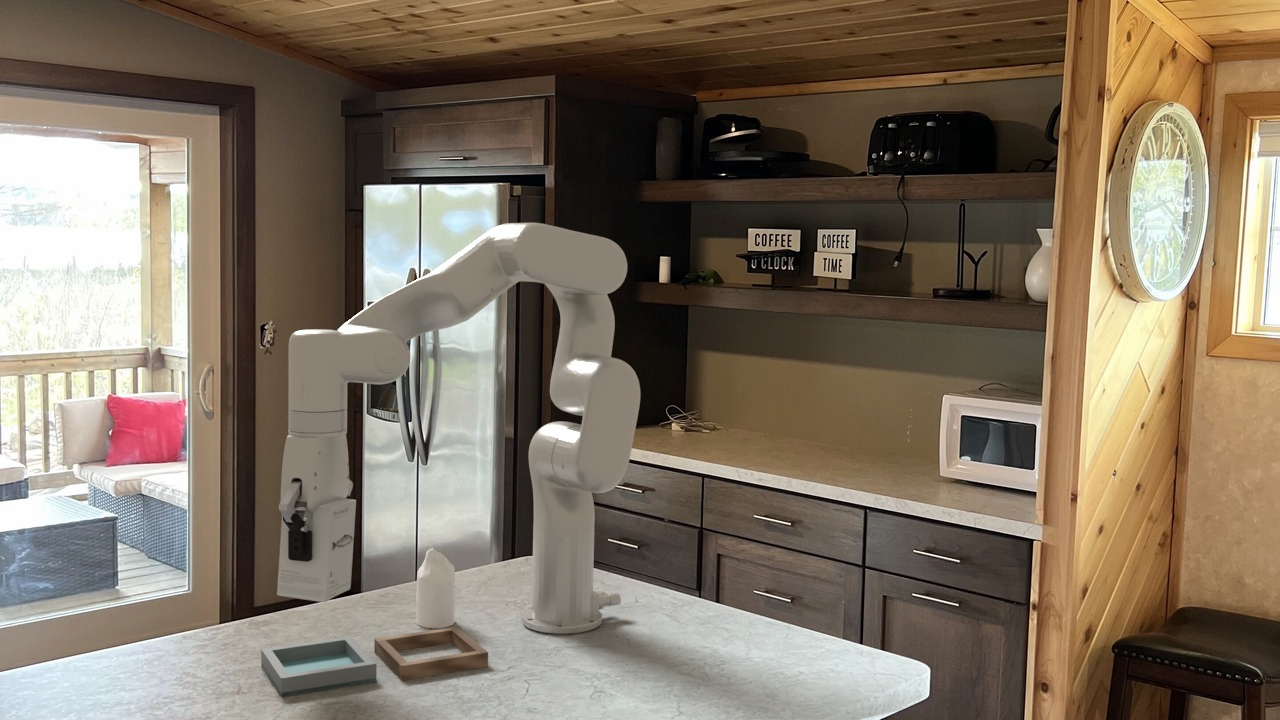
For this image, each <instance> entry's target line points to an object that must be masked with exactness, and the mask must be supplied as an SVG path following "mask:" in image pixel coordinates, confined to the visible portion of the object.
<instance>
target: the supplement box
mask: <svg viewBox="0 0 1280 720" xmlns="http://www.w3.org/2000/svg"><path fill="white" fill-rule="evenodd" d="M297 506H301V507H307V504H302V503H298V504H297ZM356 508H357V500H356V499H351V498H350V499H341V500H337V501H334V502H330V503H327V504H324V505H321V506H319V508H318V509H317V510H316V511H314V512H313V517H312V520H311V524H310V527H309V530H308V531H312V560H311V561H309V562H305V561H295V560H290V559H289V558H288V531H287V530H286V524H285V522H284V521H283V516H282V515H281V524H280V525H281V527H280V541H279V542H280V543H279V558H278V575H277V588H276V591H277V592H276V595H277V596H280V597H285V598H291V599H292V598H293V599H298V600H306V601H313V602H318V603H319V602H320V603H327V602H328V601H330V600H331V599H333V598H335V597H337V596H339V595H340V594H343V593H345V592H347V591H349V590H351V585H352V569H353V558H354V556H353V555H354V538H355V525H356V524H355V523H356ZM297 514H298V515H299V516H300V517H301V519H302V520H303V518H304V515H305V513H297Z"/></svg>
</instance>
